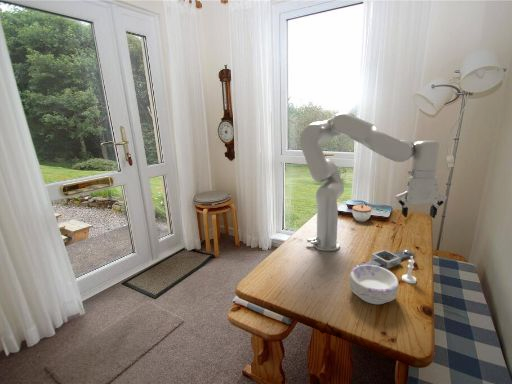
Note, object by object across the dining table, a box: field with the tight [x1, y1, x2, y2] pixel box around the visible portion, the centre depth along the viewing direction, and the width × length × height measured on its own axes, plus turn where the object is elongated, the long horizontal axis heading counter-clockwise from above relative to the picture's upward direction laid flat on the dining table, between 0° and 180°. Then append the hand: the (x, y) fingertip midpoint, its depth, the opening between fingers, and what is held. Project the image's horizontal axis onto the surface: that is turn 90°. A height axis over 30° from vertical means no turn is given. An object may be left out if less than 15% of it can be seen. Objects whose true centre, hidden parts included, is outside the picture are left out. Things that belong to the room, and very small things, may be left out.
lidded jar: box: [352, 204, 373, 223], centre depth 155 cm, size 11×11×9 cm
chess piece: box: [401, 256, 418, 285], centre depth 97 cm, size 5×5×10 cm
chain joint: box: [354, 248, 416, 270], centre depth 110 cm, size 30×8×3 cm, turn 113°
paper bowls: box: [349, 265, 400, 305], centre depth 89 cm, size 15×15×8 cm
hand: (418, 216), depth 101 cm, fingers open, 9 cm apart
